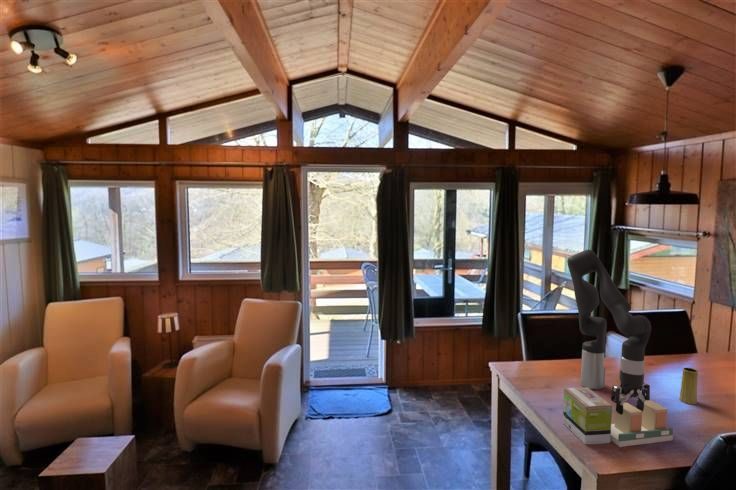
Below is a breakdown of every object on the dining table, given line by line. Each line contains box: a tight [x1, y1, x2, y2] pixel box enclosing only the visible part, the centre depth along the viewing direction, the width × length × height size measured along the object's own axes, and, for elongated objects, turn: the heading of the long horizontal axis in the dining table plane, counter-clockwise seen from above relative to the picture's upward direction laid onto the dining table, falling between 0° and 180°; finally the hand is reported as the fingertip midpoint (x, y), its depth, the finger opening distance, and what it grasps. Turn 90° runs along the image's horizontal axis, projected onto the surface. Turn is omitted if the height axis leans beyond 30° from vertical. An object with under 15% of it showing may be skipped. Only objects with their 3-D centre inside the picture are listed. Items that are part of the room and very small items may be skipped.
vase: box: [679, 367, 699, 405], centre depth 181 cm, size 6×6×14 cm
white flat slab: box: [610, 423, 674, 448], centre depth 155 cm, size 22×11×4 cm, turn 101°
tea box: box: [562, 386, 613, 445], centre depth 156 cm, size 15×10×15 cm, turn 5°
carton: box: [613, 402, 642, 433], centre depth 154 cm, size 5×7×9 cm
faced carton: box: [642, 399, 668, 430], centre depth 156 cm, size 5×7×9 cm
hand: (629, 412), depth 154 cm, fingers open, 8 cm apart
